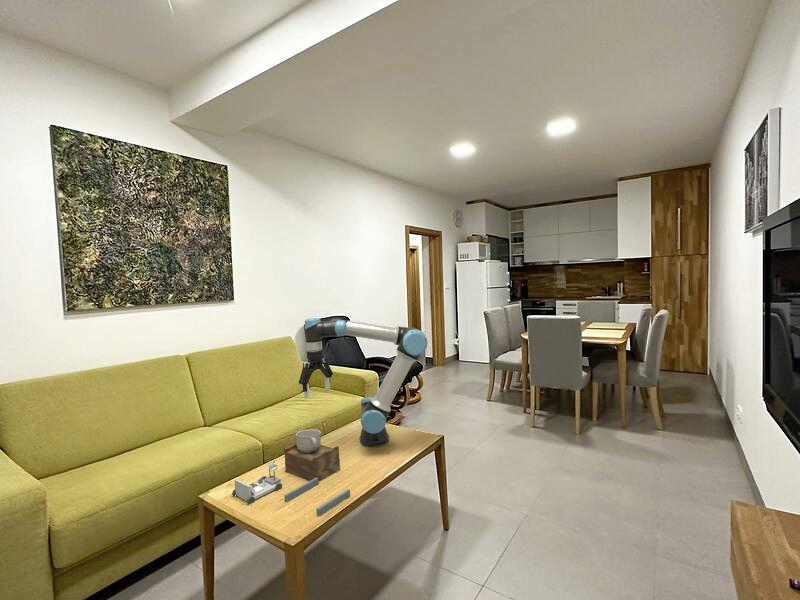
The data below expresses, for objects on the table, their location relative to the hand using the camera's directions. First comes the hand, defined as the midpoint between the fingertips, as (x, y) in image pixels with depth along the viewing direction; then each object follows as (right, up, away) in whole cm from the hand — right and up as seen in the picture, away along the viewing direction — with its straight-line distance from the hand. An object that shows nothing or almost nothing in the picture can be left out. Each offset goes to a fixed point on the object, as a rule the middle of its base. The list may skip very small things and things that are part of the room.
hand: (317, 394), depth 192 cm
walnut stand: (+1, -31, -14) cm, 34 cm away
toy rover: (-17, -33, -30) cm, 47 cm away
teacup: (0, -22, -15) cm, 27 cm away
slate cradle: (+8, -31, -38) cm, 50 cm away
